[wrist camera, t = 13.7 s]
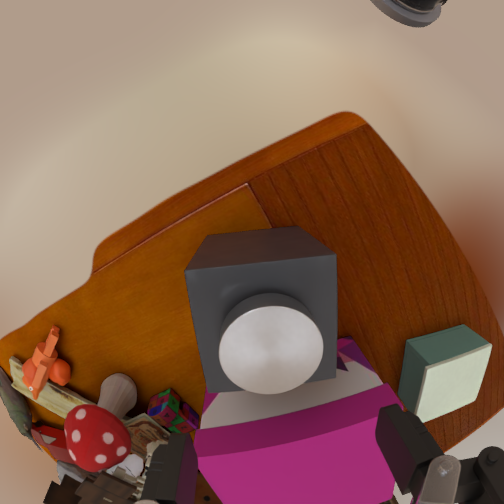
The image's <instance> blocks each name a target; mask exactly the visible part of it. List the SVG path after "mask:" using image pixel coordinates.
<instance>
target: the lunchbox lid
mask: <svg viewBox="0 0 504 504" xmlns="http://www.w3.org/2000/svg"><path fill="white" fill-rule="evenodd" d="M491 348H492V344H490V343H489V344H486V345H484V346H481V347H479V348H476V349H474V350H471V351H469V352H466V353H463V354H461V355H458V356H455V357H452V358H450V359H447V360H444V361H441V362H438V363H435V364H432V365H429V366H426V367H425V370H424V375H423V379H422V384H421V388H420V392H419V397H418V401H417V404H416V408H415V412H414V414H415V415H417V416H418V417H419V418H420V420H421V421H422V423H423V422H426V421H429V420H431V419H434V418H436V417H439V416H441V415H444V414H446V413H449V412H451V411H453V410H456V409H458V408H460V407H462V406H465V405H467V404H469V403H471V402H473V401H475V400H476V397H477V394H478V391H479V388H480V386H481V383H482V379H483V376H484V373H485V370H486V366H487V363H488V360H489V356H490V352H491Z"/></svg>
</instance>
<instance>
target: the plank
mask: <svg viewBox="0 0 504 504" xmlns="http://www.w3.org/2000/svg"><path fill="white" fill-rule="evenodd" d="M9 363H10V366H11V376H12V377H13V380H14V382H13V384H11V386H12V387H14V388H15V389H16V390H18V391H19V392H21V393H22V394H24V395H25V396H27V397H29V398H30V399H32V400H33V401H35V402H37V403H38V404H40V405H42V406H43V407H45V408H47V409H49V410H50V411H52V412H54V413H56V414H58V415H59V416H61V417H63V418H65V419H66V416H67V414H68V412H69V411H71V410H72V409H73V408H74V407H76V406H78V405H82V404H91V405H96V406H97V404H95V403H93V402H91V401H89V400H86V399H85V398H83V397H81V396H80V395H79V394H77V393H76V392H74V391H71V390H70V389H68V388H65V387H63V386H61V385H58V384H57V385H56V384H55V383H53V382H51V381H49V380H47V383H46V385H45V386H44V388H43V390H42V391H41V392H40V393H39V396H38V398H37V400H34V399H33V395H32V392H31V391H30V390H29V389H28V388H27V386H26V385H25V384H24V383H23V381H22V377H23V376H24V374H23V372H22V366H23V364H21V361H20V360H18V359H17V358H15V357H14V356H11V358H10V360H9ZM130 419H132V418H130V417H127V416H125V415H124V417H123V418H122V419H121V422H125V421H127V420H130Z"/></svg>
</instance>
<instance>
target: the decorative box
mask: <svg viewBox="0 0 504 504" xmlns="http://www.w3.org/2000/svg"><path fill="white" fill-rule="evenodd" d="M395 403H397V404H399V406H400V407H401V409H402V410H403V405H402V403H401V402H400V401H399V399H398V398H397V396H396V395H395V393H394V392H393V390H392V389H391V387H390V386H389V384H388V383H385V384H383V383H382V381H381V380H380V378H379V377H378V375H377V374H376V372H375V371H374V369H373V368H372V366H371V365H370V363H369V362H368V360H367V359H366V358H365V356H364V355H363V353H362V352H361V350H360V349H359V347H358V346H357V344H356V343H355V342H354V340H353V339H352V337H351V336H348V337H345V338H342V339H338V340H337V368H336V378H333V379H328V380H322V381H316V382H310V383H304V384H301V385H300V386H298V387H296V388H294V389H292V390H289V391H286V392H283V393H278V394H258V393H253V392H250V391H247V390H246V391H235V392H221V393H208V390H207V386H206V392H205V398H204V405H203V412H202V419H201V426H200V429H197V430H196V432H195V439H194V448H195V451H196V454H197V458H198V469H199V470H200V472H201V473H202V475H203V476H204V477H205V479H206V480H207V482H208V483H209V485H210V486H211V488H212V489H213V490H214V492H215V493H216V495H217V496H218V497H219V499H220V500H221V501H222V503H223V504H379V503H382V502H384V501H387V500H389V499H392V496H393V490H394V484H395V479H394V477H393V475H392V473H391V471H390V468H389V466H388V464H387V462H386V460H385V458H384V456H383V454H382V452H381V450H380V448H379V446H378V444H377V442H376V438H375V429H376V424H377V419H378V414H379V409H380V408H381V407H385V406H388V405H392V404H395Z"/></svg>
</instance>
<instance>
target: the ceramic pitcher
mask: <svg viewBox="0 0 504 504" xmlns="http://www.w3.org/2000/svg"><path fill="white" fill-rule="evenodd" d="M137 484H140V485H143V483H141V482H137ZM136 491H137V492H138V491H139V490H138V489H137V490H136ZM133 496H134V495H131V496H130V498H132V497H133ZM194 504H223V503H222V501H221V500H220V499H219V497H218V496H217V495H216V493H215V492H214V490H213V489H212V488H211V486H210V485H209V483H208V482H207V480H206V479H205V477H204V476H203V475H202V473H199V472H197V480H196V489H195V498H194Z"/></svg>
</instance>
